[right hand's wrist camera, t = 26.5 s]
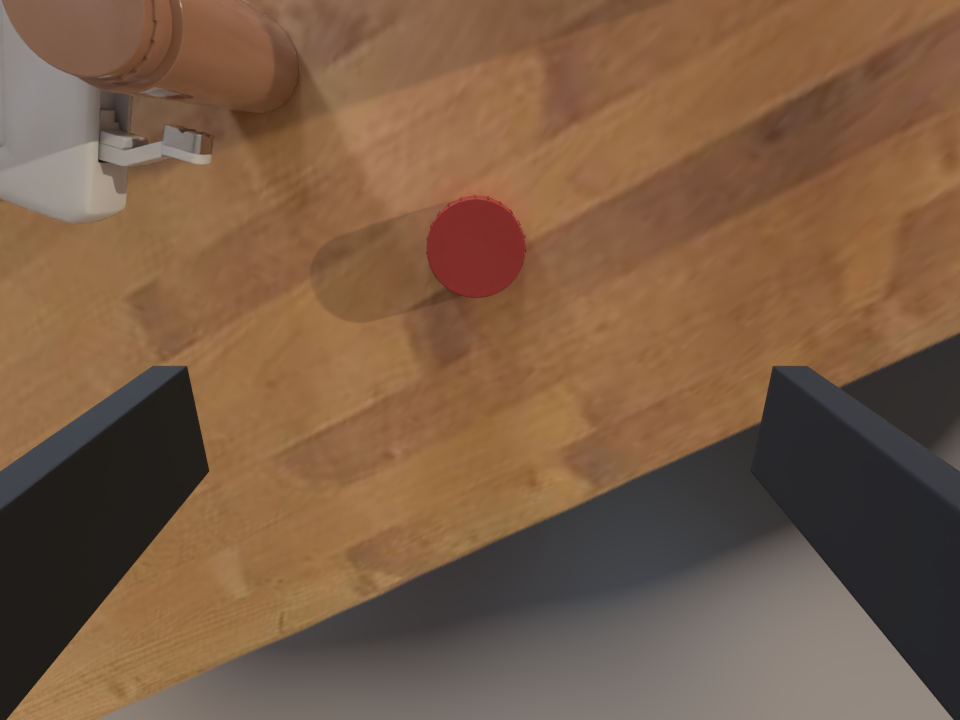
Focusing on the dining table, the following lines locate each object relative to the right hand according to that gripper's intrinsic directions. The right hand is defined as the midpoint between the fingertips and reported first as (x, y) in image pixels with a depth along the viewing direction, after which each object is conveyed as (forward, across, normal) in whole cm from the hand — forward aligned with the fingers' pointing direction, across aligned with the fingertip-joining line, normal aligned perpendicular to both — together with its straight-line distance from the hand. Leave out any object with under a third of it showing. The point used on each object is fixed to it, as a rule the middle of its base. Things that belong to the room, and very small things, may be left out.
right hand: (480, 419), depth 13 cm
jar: (+26, +14, -10) cm, 31 cm away
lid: (+24, 0, 0) cm, 24 cm away
